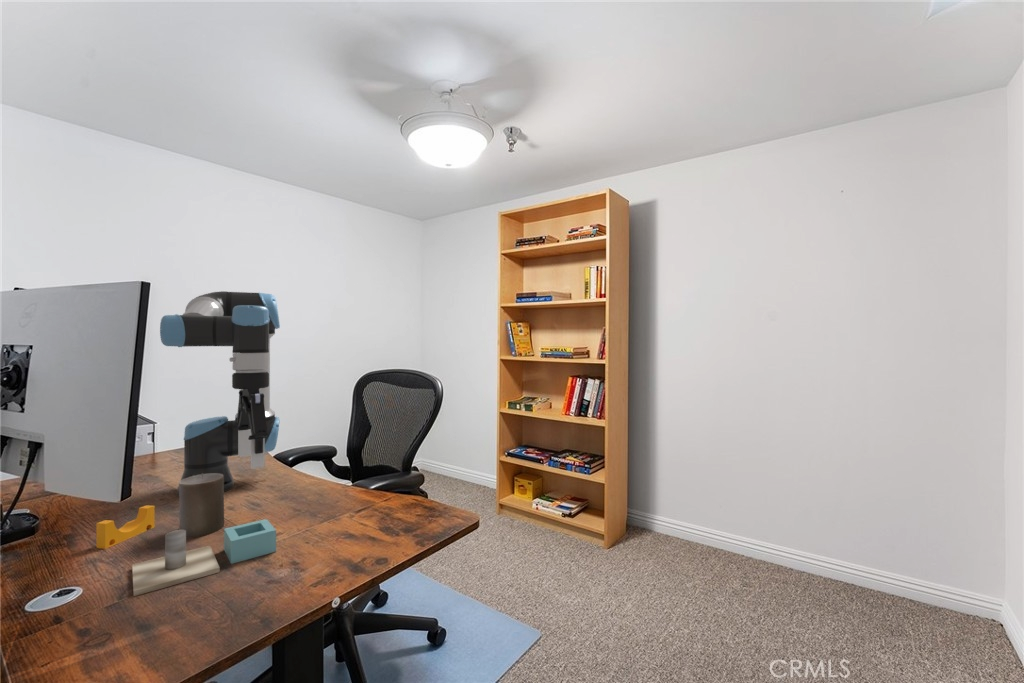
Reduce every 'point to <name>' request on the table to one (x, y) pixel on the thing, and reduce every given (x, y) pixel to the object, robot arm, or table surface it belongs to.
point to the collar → (249, 540)
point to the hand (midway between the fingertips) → (250, 461)
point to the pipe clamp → (125, 528)
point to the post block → (173, 565)
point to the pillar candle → (201, 504)
